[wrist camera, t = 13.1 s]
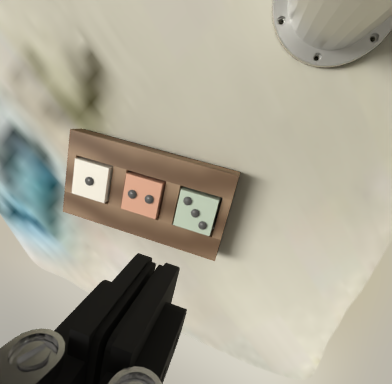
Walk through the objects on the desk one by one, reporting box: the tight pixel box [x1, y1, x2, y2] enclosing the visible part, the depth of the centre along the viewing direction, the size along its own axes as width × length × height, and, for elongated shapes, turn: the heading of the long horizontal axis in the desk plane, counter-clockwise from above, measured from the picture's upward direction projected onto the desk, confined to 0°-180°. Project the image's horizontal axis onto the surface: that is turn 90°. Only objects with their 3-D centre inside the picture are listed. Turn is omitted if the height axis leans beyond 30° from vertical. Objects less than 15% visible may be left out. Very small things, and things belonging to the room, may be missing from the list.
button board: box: [63, 129, 240, 261], centre depth 38 cm, size 12×23×2 cm, turn 77°
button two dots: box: [121, 171, 166, 219], centre depth 38 cm, size 5×5×3 cm
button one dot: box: [72, 157, 113, 203], centre depth 39 cm, size 5×5×3 cm
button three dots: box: [173, 187, 221, 236], centre depth 36 cm, size 5×5×3 cm
